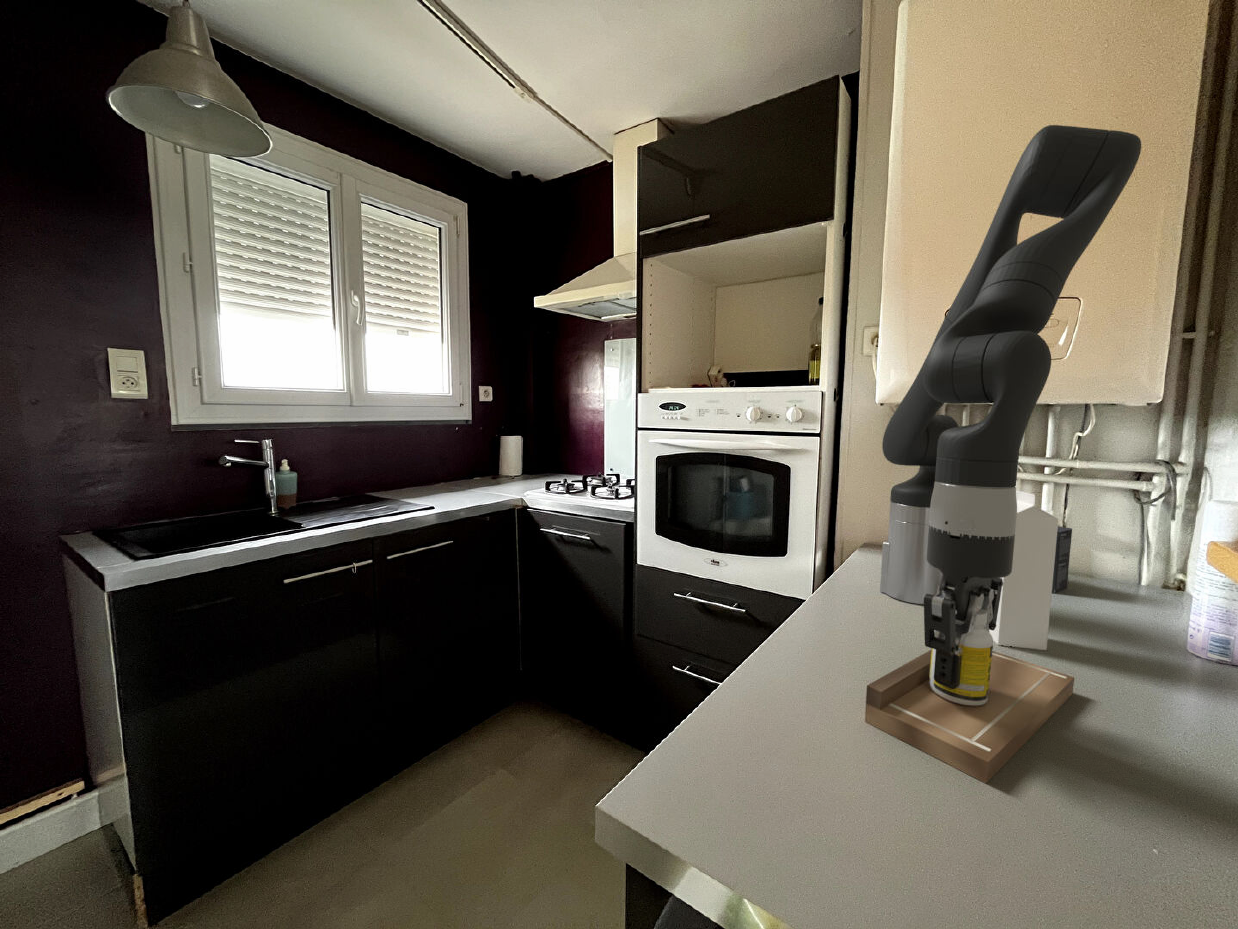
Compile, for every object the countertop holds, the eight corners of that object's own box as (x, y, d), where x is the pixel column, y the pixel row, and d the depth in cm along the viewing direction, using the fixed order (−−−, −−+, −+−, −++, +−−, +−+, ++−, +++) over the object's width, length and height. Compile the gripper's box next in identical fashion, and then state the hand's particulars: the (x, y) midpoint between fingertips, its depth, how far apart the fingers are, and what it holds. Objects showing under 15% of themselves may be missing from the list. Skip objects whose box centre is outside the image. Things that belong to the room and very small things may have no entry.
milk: (997, 646, 72) (1009, 494, 70) (978, 629, 77) (989, 488, 75) (1048, 651, 70) (1061, 495, 68) (1024, 633, 76) (1036, 489, 74)
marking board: (864, 721, 53) (866, 685, 53) (966, 656, 68) (968, 628, 68) (986, 783, 44) (990, 741, 44) (1072, 693, 59) (1075, 661, 59)
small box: (1068, 588, 97) (1074, 527, 96) (1055, 594, 94) (1061, 531, 93) (990, 570, 108) (994, 516, 107) (975, 575, 105) (980, 519, 104)
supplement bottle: (998, 711, 52) (1006, 620, 51) (940, 704, 53) (947, 615, 52) (973, 684, 57) (980, 600, 56) (921, 678, 58) (926, 596, 57)
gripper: (959, 513, 60) (949, 647, 62) (900, 526, 52) (890, 681, 54) (1037, 524, 54) (1023, 673, 56) (984, 542, 46) (970, 715, 48)
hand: (958, 676), depth 55 cm, fingers closed on supplement bottle, 5 cm apart
